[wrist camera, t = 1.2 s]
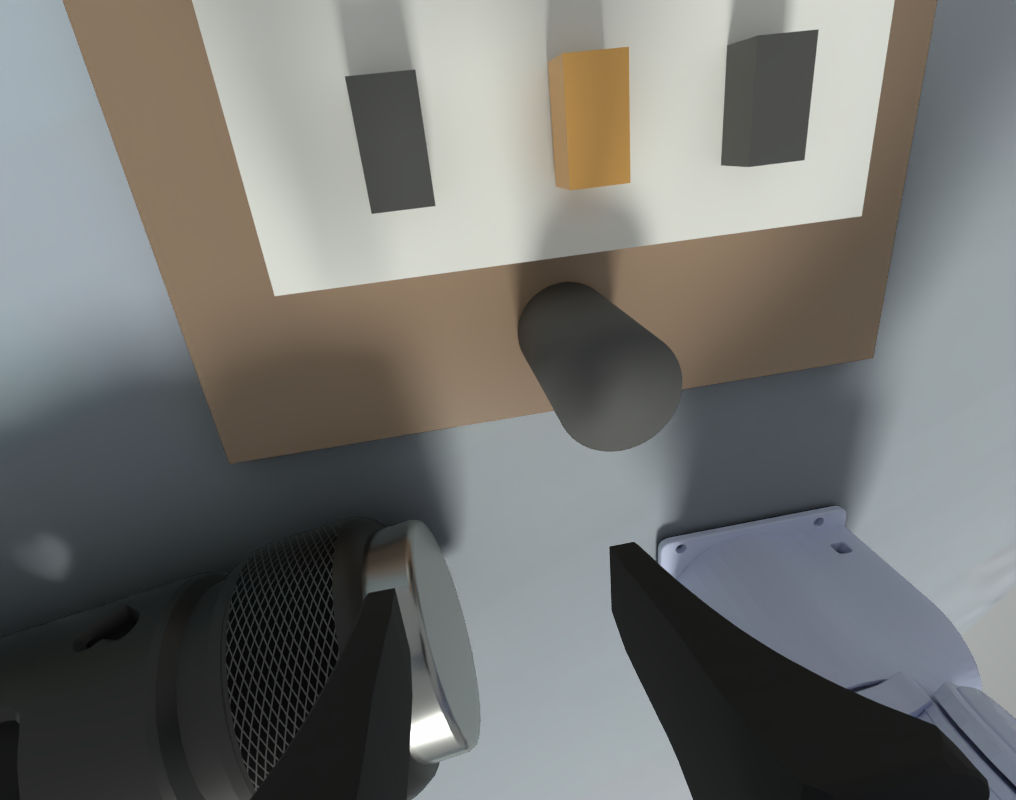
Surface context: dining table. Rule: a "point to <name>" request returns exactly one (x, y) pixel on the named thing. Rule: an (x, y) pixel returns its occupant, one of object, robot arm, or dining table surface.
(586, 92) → the orange block
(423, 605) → the muzzle brake
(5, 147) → the dining table surface
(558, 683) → the dining table surface
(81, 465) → the dining table surface
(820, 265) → the breaker panel
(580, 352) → the post
